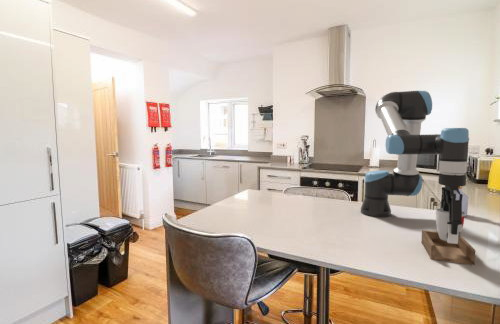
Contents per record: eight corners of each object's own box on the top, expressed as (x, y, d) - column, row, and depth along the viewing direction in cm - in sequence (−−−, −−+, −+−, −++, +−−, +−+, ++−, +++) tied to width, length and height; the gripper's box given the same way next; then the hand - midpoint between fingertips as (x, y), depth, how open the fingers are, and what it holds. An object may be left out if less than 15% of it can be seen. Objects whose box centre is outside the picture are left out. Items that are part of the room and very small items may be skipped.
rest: (430, 259, 92) (431, 244, 91) (421, 242, 107) (422, 230, 106) (474, 265, 87) (475, 250, 87) (458, 246, 102) (459, 233, 102)
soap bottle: (471, 217, 139) (474, 170, 137) (451, 216, 141) (453, 169, 139) (461, 212, 148) (464, 168, 146) (442, 211, 150) (445, 167, 148)
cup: (446, 244, 89) (448, 214, 88) (428, 235, 97) (430, 208, 97) (469, 243, 90) (471, 214, 89) (449, 234, 98) (451, 207, 97)
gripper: (477, 178, 81) (473, 251, 83) (456, 170, 100) (452, 230, 102) (447, 176, 84) (444, 248, 86) (432, 170, 103) (429, 228, 104)
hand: (448, 238), depth 94 cm, fingers closed on cup, 8 cm apart
